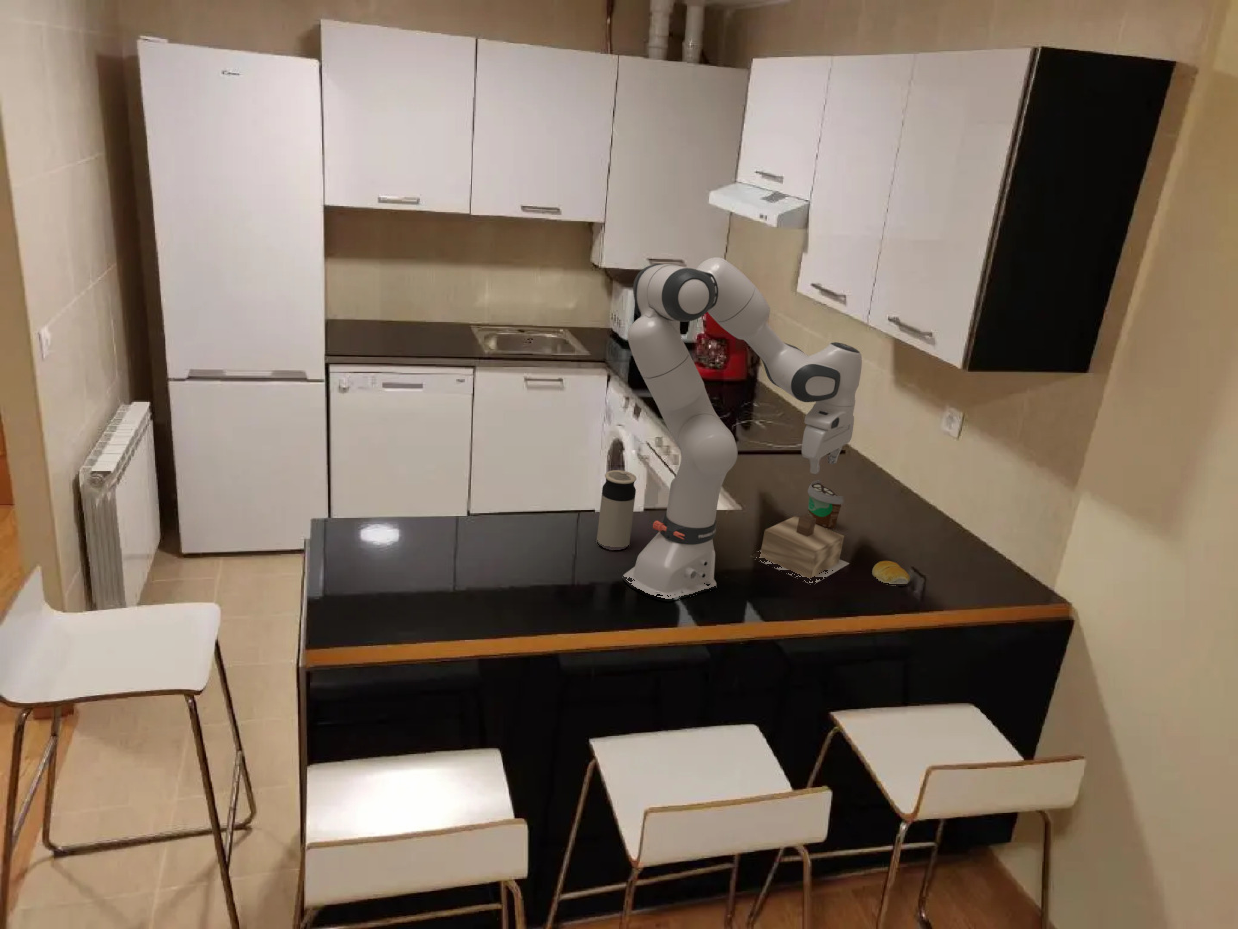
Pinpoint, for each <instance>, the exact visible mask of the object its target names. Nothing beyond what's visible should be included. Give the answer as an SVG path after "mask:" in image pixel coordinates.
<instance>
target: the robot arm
mask: <svg viewBox="0 0 1238 929" xmlns="http://www.w3.org/2000/svg"><path fill="white" fill-rule="evenodd" d="M632 289H633V290H632V291H633V292H632V294H633V299H634V313H635V315H637V319H636V320H635V321H634V322H633V323H632V324H631V325H630V327H629V328H628V331H627V342H628V345H629V348H630V351H631V355H632V356H633V359H634V360H633V361H635V364H636V367H637V369H638V371H639V372H640V375H641V377H642V379H643V380H644V383H645V385H646V386H647V389H648V390H649V392H650V394H651V396H652V398H653V400H654V401H655V404H656V406H657V408H658V411H659V413H660V415H661V417H662V419H663V421H664V423H665V426H666V428H667V429H668V432H669V433H670V435H671V437H672V439H673V441H674V443H675V444H676V445H677V447H678V449H679V451H680V456H681V457H680V463H679V467H678V469H677V473H676V474H675V477H674V478H673V479H672V480H671V481H670V482H671V483H670V486H669V493H668V494H669V495H668V501H667V507H666V512H665V513H664V515H663V518H662V520H661V521H659V520H655V521H654V522H653V523H652V524H653V525H652V528H653V530H656V531H658V533H656V535H655V536H654V537H653V538H652V539H651V540H650V541H649V542H648V544H647V545H646V546H645V547H644V548H643V549H642V551H641V552H640V553H639V554H638V555H637V559H636V561H635V565H634V566H633V567H632V568H631V569H629V570H628V571H626V572H625V573H623V576H624V577H627V579H628V578H629V577H630V578H632V580H633V579H634V580H635V581H634V580H633V581H632V582H630V581H628V580H627V579H626V580H627V581H628V582H629V583H632V584H631V585H633V586H634V587H636V588H637V589H640V590H642V591H644V592H645V593H648V594H650V595H654V596H656V595H657V594H660V595H663V596H657V597H661V598H665V599H672V598H676V597H677V598H678V597H679V596H680V597H681V596H684V595H689V594H693V593H695V592H698V591H701V590H704V589H709V588H711V587H714V586H716V587H717V582H716V580H715V566H716V565H715V564H716V551H715V547H714V541H713V539H714V538H715V536H716V535H715V534H716V530H717V520H716V517H717V516H716V515H717V510H718V504H719V499H720V498H719V497H720V493H721V490H722V486H723V483H724V480H725V479H726V476H727V473H728V472H729V471H730V470H732V468H733V467H734V466H735V465H736V462H737V460H738V454H739V453H738V452H739V451H738V446H737V443H736V440H735V437H734V435H733V433H732V432H731V430H730V429H729V428H728V427H727V426H726V425H725V423H724V422H723V421H722V420H721V419H720V416H719V415H718V414H717V413H716V411H715V409H714V407H713V404H712V402H711V400H710V398H709V395H708V393H707V390H706V388H705V382H704V381H703V379H702V376H701V374H700V372H699V370H698V369H697V366H696V364H695V362H694V360H693V359H692V356H691V354H690V352H689V350H688V348H687V346H686V344H685V343H684V340H683V339H682V333H681V330H680V329H681V322H682V323H683V322H685V323H686V322H687V323H688V322H692V321H695V320H698V319H700V318H701V317H704V316H705V314H706V313H708V314H709V316H710V317H711V318H712V319H713V320H714V321H715V322H716V323H717V324H718V325H719V326H720V328H722V329H723V330H724V331H726V332H728V334H730V335H731V336H733V337H734V338H736V339H738V340H743V341H744V342H746V344H747V345H748V346H749V347H750V348H751V350H752V351H754V353H755V354H756V355H757V356H758V357H759V358H760V359H761V360H760V361H761V362H762V364H763V367H764V371H765V374H766V376H767V378H768V380H769V381H770V383H772V385H774V386H776V387H778V388H779V389H780V388H781V390H783V391H785V393H787V394H788V395H790V396H792V398H794V399H796V400H798V401H800V402H803V403H814V404H813V405H812V407H811V409H810V410H809V411H808V412H807V413H806V414H805V416H804V419H803V420H804V422H803V423H804V424H805V425H806V426H805V428H804V431H803V436H802V444H801V456H802V457H803V458H804V459H808V460H809V464H810V467H809V468H810V469H809V472H810V474H813V475H816V474H819V473H820V469H821V466H820V461H821V458H823V457H824V456H827V455H828V454H829V455H828V457H827V463H828V464H831V465H834V464H837V462H838V457H839V455H840V453H841V451H842V448H843V447H844V446H845V445H847V444H849V443H850V442H851V440H852V438H853V431H854V425H855V417H854V412H855V407H856V393H857V390H858V388H859V386H860V380H861V376H862V375H861V374H862V365H863V364H862V363H863V360H862V359H863V357H862V354H861V352H860V351H859V350H858V349H857V348H855V347H853V346H851V345H847V344H845V343H842V342H835V341H834V342H830V343H829V344H828V345H827V346H826V347H825V348H823V349H822V350H820V351H818V352H816V353H814V354H812V355H810V354H809V355H808V354H807V353H806V352H804V351H803V350H802V349H800V348H798V347H796V346H795V345H793V344H789V343H786V342H784V341H783V340H782V339H781V338H780V337H779V336H778V334H777V333H776V332H775V331H774V330H773V329H772V327H771V326H770V325H769V324H768V320H769V317H770V314H771V313H770V312H771V310H770V305H769V304H768V302H767V300H766V299H765V296H764V295H763V294H762V292H761V291H760V290H759V289H758V288H757V286H755V284H754V283H753V281H751V280H750V279H749V277H747V276H746V275H745V274H744V273H743V272H742V271H741V270H739V269H738V268H737V267H736V266H735V265H733V264H732V263H730V262H729V261H727V260H726V259H725V258H722V257H718V256H714V257H710V258H707V259H705V260H704V261H702V262H701V263H700V264H699V265H698V266H697V267H696V268H691V267H690V268H689V267H685V266H681V265H678V264H672V263H665V264H664V263H655V264H651V265H647V266H646V267H644V268H643V269H641V270H640V271H639V272H638V273H637V275H636V276H635V278H634V281H633V286H632ZM623 576H622V577H623ZM704 583H705V584H704ZM706 584H710V585H709V586H707V585H706ZM667 595H668V596H669V597H668V596H667ZM670 595H671V596H670Z"/></svg>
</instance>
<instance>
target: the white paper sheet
mask: <svg viewBox="0 0 1238 929" xmlns="http://www.w3.org/2000/svg"><path fill="white" fill-rule="evenodd" d="M759 551H760V552H761V549H760V550H759ZM759 551H757V552H759ZM756 558H757V557H756ZM759 558H761V557H759ZM760 561H761V560H760ZM760 561H759V562H760ZM764 562H765V561H764ZM764 562H762V561H761V562H760V563H763V564H765V565H767V564H772V563H771V562H769V561H767V562H765V563H764ZM773 564H775V563H773ZM849 564H850V563H849V562H848V561H845V560H842V559H840V558H839V563H837V564H835V565H833V566H832V567H830V568H828V569H826V570H828V571H827V572H828V573H827V572H825V571H824V572H822V573H820V574H818V575H816V576H815V577H823V579H822V580H824V579H825V578H824V577H826V578H828V577H829V576H830V575H832V574H834V573H836V572H837V571H839V570H841V569H843V568H844V567H846V566H848V565H849ZM774 569H775V570H778V571H780V570H788V569H786V568H784V567H782V568H781V567H779V568H778V567H777V568H775V567H774ZM832 570H833V571H832ZM825 573H826V574H825ZM792 574H793V573H792ZM792 574H789V573H788V574H787V575H789V576H791V577H793V576H792ZM794 575H795V574H794ZM798 576H799V575H798ZM798 576H796V577H798ZM796 577H795V578H796ZM799 577H801V576H799ZM802 577H804V576H802ZM810 580H811V579H810ZM804 581H805V580H804ZM804 581H803V582H804ZM815 582H816V583H817V584H818V582H821V580H820V579H819V580H817V579H816V581H815ZM804 583H807V584H809V583H813V581H812V582H810V581H809V583H808V582H806V581H805V582H804ZM816 583H815V584H816Z"/></svg>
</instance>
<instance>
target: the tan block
mask: <svg viewBox="0 0 1238 929" xmlns="http://www.w3.org/2000/svg"><path fill="white" fill-rule="evenodd" d="M815 523H816V518H813V517H811V516H809V515H807V514H803V515H801V516H797V515H794V516H793V517H790V518H788V519H785V520H784V521H781V522H778V523H777V524H775V525H773V526H770V527H767V528H766V529H764V533H763V539H762V544H761V547H760V550H761V554H760V557H761V558H765V559H766V560H768V561H770V562H772V563H775V564H778V565H780V566H781V567H784V568H786V569H788V570H791V571H793V572H795V573H797V574H800V575H801V576H804V577H807V578H809V579H810V578H812V577H814V576H816V575H818V574H819V573H821V572H823V571H824V570H826V569H828V568H830V567H832V566H833V565H835V564H837V563H839V559H840V557H841V553H842V548H843V545H844V539H845V535H842V534H840V533H838V532H835V531H833V530H832V529H826V528H824V527H821V526H819V525H816V524H815Z"/></svg>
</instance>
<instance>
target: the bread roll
mask: <svg viewBox="0 0 1238 929" xmlns="http://www.w3.org/2000/svg"><path fill="white" fill-rule="evenodd" d="M871 572H872V573H871V574H872V576H873V577H874V578H875V577H876V578H875V579H876V580H877V579H878V581H879V582H880V581H881V583H882V582H883V583H882V584H884V583H889V584H907V585H908V583H909V582H910V580H911V579H910V577H911V576H910V575H909V572H907V571H906V570H905V569H904V568H902V567H901V565H899V563H897V562H894V561H891V560H882V561H878V562H877V563H875V564H874V566H873V568H872V571H871Z"/></svg>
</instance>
